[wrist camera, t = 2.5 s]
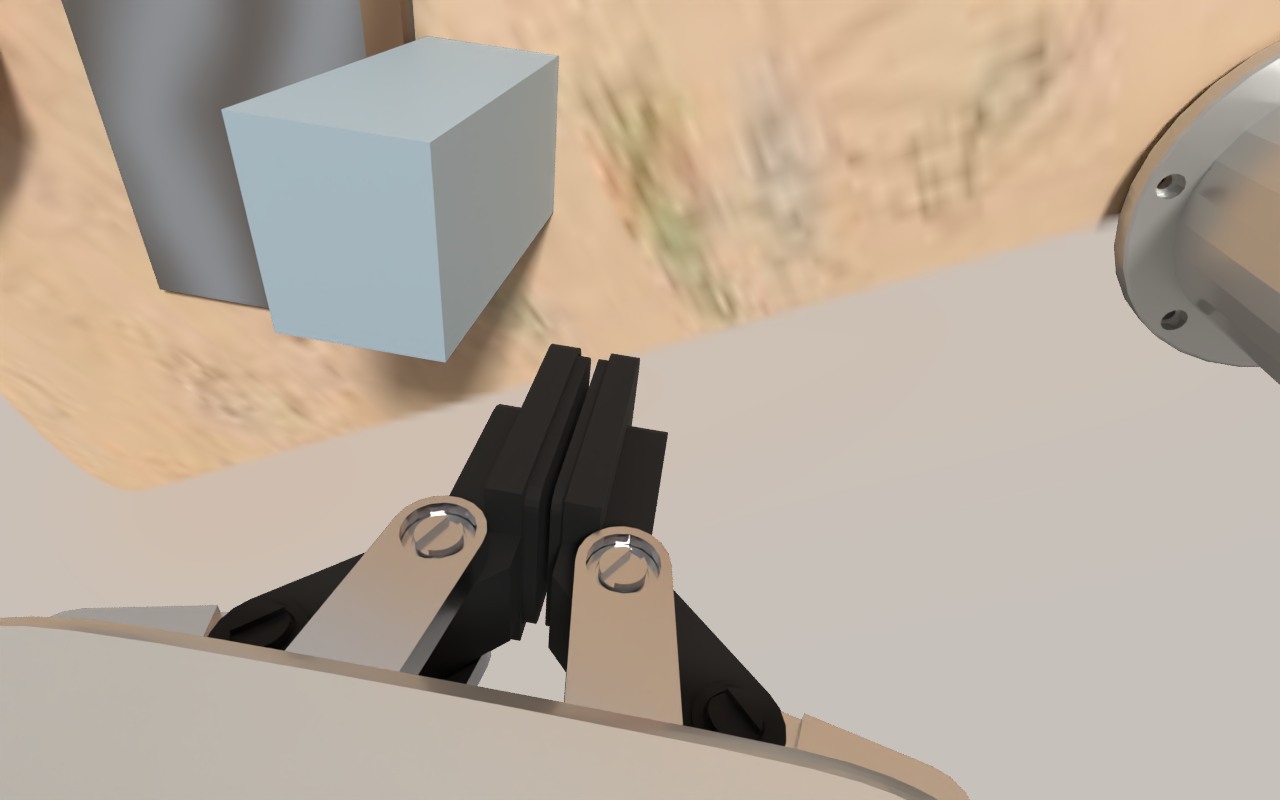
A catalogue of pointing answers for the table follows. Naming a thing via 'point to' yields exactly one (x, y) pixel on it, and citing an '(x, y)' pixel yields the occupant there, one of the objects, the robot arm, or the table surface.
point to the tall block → (397, 190)
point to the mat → (208, 111)
